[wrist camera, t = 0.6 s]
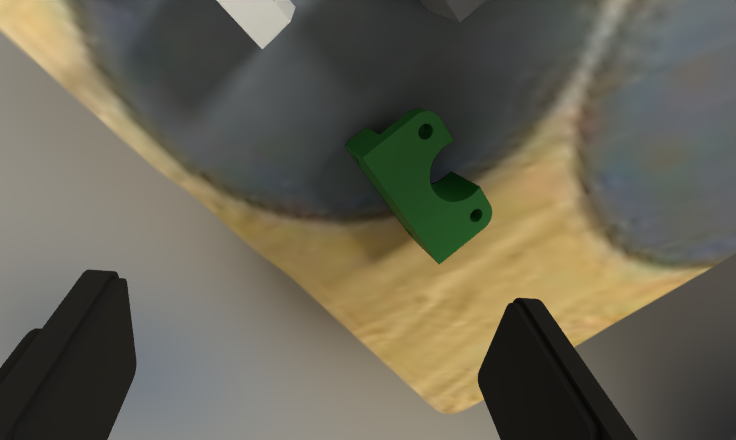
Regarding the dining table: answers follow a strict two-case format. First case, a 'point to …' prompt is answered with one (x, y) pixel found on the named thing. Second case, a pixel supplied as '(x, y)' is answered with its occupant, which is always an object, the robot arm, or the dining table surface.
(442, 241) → the clamp
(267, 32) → the white rectangular block
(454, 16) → the gray rectangular block
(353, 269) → the dining table surface
